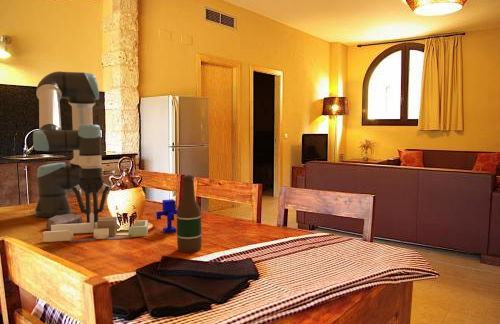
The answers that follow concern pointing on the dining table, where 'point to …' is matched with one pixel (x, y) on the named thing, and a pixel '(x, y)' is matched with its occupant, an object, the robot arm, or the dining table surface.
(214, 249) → the dining table surface
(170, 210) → the figurine
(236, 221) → the dining table surface
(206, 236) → the dining table surface
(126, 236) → the grey thin bar
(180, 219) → the beer bottle
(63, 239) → the lane
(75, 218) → the stone
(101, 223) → the block
